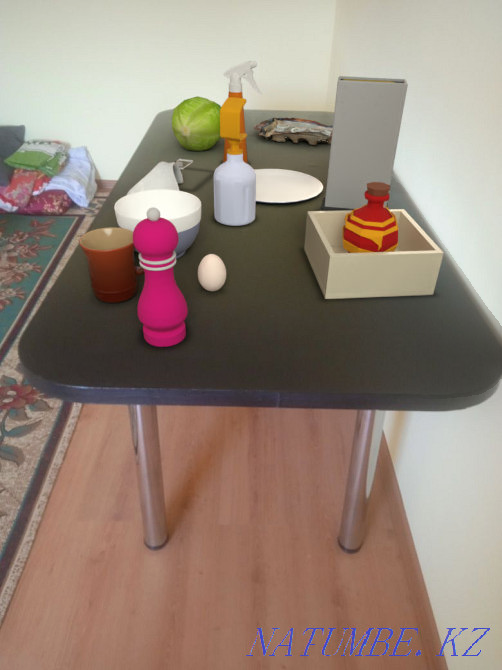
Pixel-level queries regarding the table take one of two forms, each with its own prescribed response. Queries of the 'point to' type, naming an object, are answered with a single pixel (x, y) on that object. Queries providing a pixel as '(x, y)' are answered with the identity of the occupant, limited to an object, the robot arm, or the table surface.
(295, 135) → the grey piece
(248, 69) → the spray bottle
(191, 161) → the binder clip
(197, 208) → the bowl
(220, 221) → the white cleaner bottle
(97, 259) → the mug
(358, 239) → the potion bottle
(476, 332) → the table surface
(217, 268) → the egg
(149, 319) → the pepper mill
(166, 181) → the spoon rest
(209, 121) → the lettuce
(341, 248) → the cream open box
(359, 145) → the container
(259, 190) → the plate
